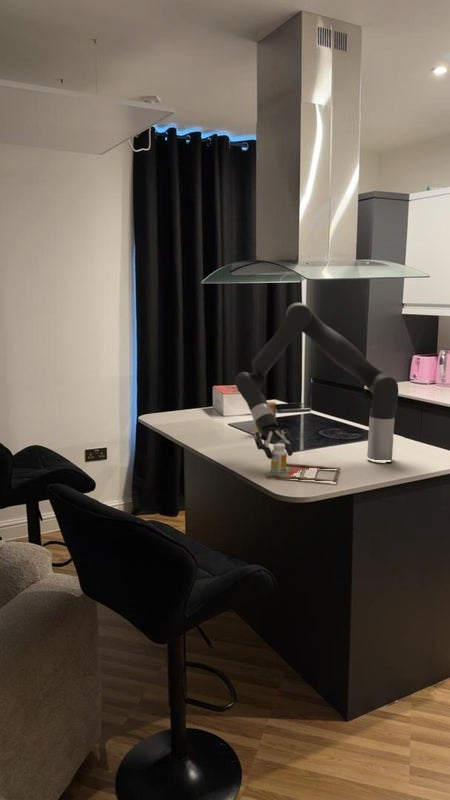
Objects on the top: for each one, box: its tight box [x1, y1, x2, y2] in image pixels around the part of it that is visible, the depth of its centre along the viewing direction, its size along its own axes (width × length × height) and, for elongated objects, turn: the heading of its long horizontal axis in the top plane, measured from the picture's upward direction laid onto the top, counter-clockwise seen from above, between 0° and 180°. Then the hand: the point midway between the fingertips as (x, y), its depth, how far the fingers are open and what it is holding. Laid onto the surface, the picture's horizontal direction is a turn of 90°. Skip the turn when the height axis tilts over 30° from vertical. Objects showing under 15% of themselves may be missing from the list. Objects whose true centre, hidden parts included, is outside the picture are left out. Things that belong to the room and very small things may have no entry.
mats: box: [286, 467, 309, 476], centre depth 211 cm, size 10×13×1 cm
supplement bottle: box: [270, 443, 288, 473], centre depth 213 cm, size 5×5×10 cm
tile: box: [267, 466, 290, 475], centre depth 214 cm, size 6×13×1 cm, turn 165°
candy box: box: [254, 401, 277, 434], centre depth 265 cm, size 9×4×15 cm, turn 96°
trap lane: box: [265, 462, 341, 482], centre depth 211 cm, size 24×16×1 cm
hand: (281, 456), depth 211 cm, fingers open, 8 cm apart
